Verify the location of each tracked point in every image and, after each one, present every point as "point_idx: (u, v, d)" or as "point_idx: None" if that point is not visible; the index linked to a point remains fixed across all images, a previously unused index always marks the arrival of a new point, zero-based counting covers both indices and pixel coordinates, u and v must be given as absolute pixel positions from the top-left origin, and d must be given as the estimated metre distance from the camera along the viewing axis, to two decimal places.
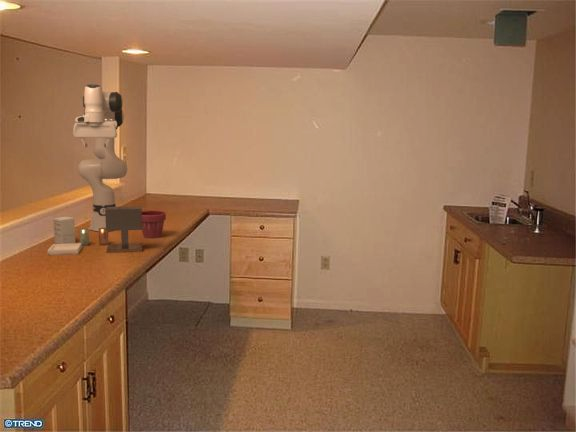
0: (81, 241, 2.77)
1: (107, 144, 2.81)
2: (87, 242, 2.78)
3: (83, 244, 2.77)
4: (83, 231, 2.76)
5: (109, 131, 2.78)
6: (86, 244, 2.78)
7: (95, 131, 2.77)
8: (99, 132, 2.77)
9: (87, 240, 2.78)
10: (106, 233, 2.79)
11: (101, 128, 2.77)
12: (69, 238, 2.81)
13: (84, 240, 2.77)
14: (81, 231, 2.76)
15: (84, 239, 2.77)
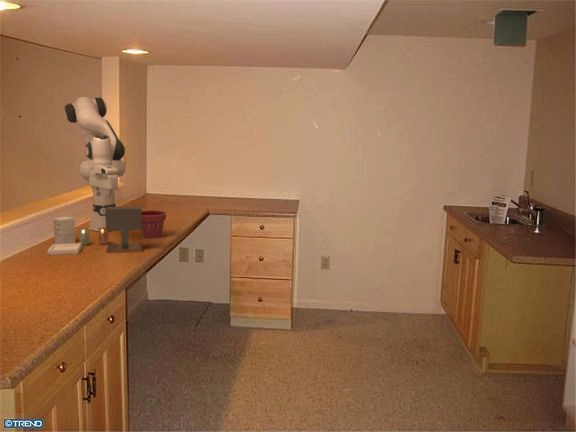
0: (81, 241, 2.77)
1: None
2: (87, 242, 2.78)
3: (83, 244, 2.77)
4: (83, 231, 2.76)
5: None
6: (86, 244, 2.78)
7: None
8: None
9: (87, 240, 2.78)
10: (106, 233, 2.79)
11: None
12: (69, 238, 2.81)
13: (84, 240, 2.77)
14: (81, 231, 2.76)
15: (84, 239, 2.77)
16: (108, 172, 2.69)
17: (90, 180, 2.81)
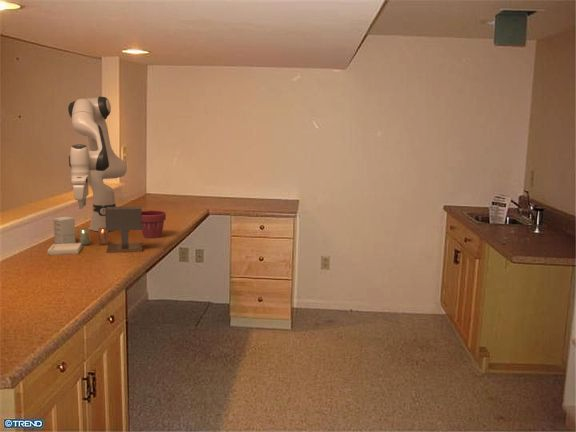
0: (81, 241, 2.77)
1: (83, 203, 2.81)
2: (87, 242, 2.78)
3: (83, 244, 2.77)
4: (83, 231, 2.76)
5: (87, 189, 2.82)
6: (86, 244, 2.78)
7: (85, 191, 2.76)
8: (86, 191, 2.77)
9: (87, 240, 2.78)
10: (106, 233, 2.79)
11: (85, 187, 2.78)
12: (69, 238, 2.81)
13: (84, 240, 2.77)
14: (81, 231, 2.76)
15: (84, 239, 2.77)
16: (73, 182, 2.65)
17: None
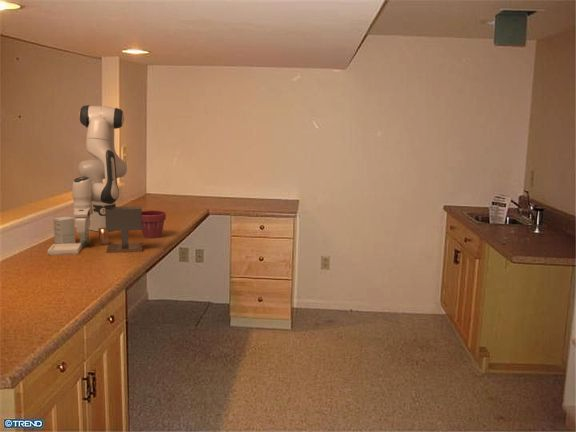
0: (81, 241, 2.77)
1: None
2: (87, 242, 2.78)
3: (83, 244, 2.77)
4: None
5: (89, 220, 2.85)
6: (86, 244, 2.78)
7: (87, 223, 2.79)
8: (88, 223, 2.80)
9: (87, 240, 2.78)
10: (106, 233, 2.79)
11: (87, 219, 2.81)
12: (69, 238, 2.81)
13: (84, 240, 2.77)
14: None
15: None
16: (75, 215, 2.68)
17: None
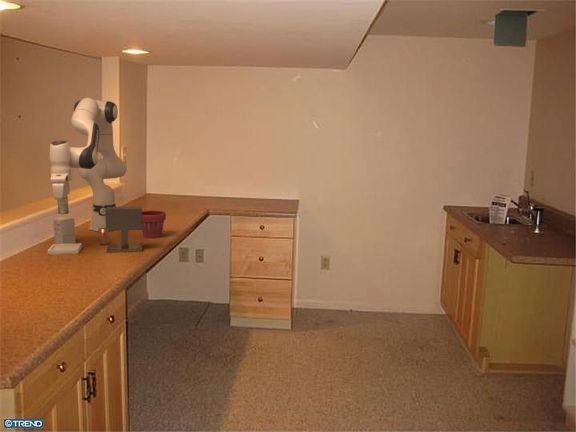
0: (59, 209, 2.61)
1: None
2: (66, 210, 2.62)
3: (61, 212, 2.61)
4: None
5: (68, 187, 2.69)
6: (65, 212, 2.62)
7: (66, 189, 2.62)
8: (67, 190, 2.64)
9: (66, 208, 2.62)
10: (106, 233, 2.79)
11: (66, 185, 2.65)
12: (69, 238, 2.81)
13: None
14: None
15: None
16: (52, 180, 2.52)
17: None
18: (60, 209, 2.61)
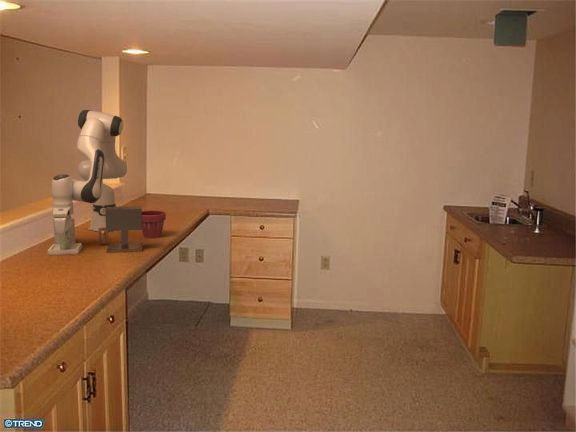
0: (61, 245, 2.64)
1: None
2: (68, 246, 2.65)
3: (64, 248, 2.64)
4: None
5: (70, 220, 2.71)
6: (67, 248, 2.65)
7: (67, 223, 2.65)
8: (68, 223, 2.67)
9: (68, 244, 2.65)
10: (106, 233, 2.79)
11: (68, 218, 2.67)
12: None
13: (64, 244, 2.64)
14: None
15: (64, 243, 2.64)
16: (54, 215, 2.55)
17: None
18: (62, 245, 2.64)
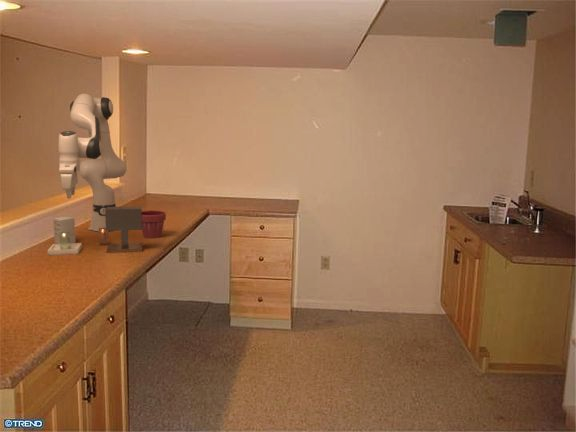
0: (61, 245, 2.64)
1: None
2: (68, 246, 2.65)
3: (64, 249, 2.64)
4: (63, 235, 2.63)
5: (76, 177, 2.72)
6: None
7: (74, 180, 2.66)
8: (75, 180, 2.68)
9: (68, 244, 2.65)
10: (106, 233, 2.79)
11: (74, 175, 2.68)
12: None
13: (64, 244, 2.64)
14: (61, 235, 2.63)
15: (64, 243, 2.64)
16: (60, 171, 2.55)
17: None
18: (62, 246, 2.64)
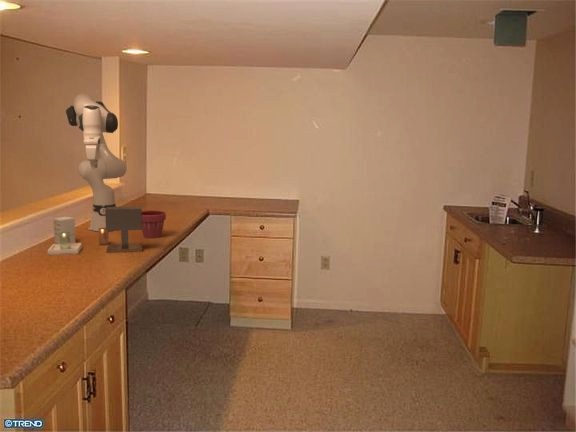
0: (61, 245, 2.64)
1: (95, 165, 2.81)
2: (68, 246, 2.65)
3: (64, 249, 2.64)
4: (63, 235, 2.63)
5: (99, 151, 2.82)
6: None
7: (97, 152, 2.76)
8: (98, 153, 2.77)
9: (68, 244, 2.65)
10: (106, 233, 2.79)
11: (97, 149, 2.78)
12: None
13: (64, 244, 2.64)
14: (61, 235, 2.63)
15: (64, 243, 2.64)
16: (85, 142, 2.65)
17: None
18: (62, 246, 2.64)
